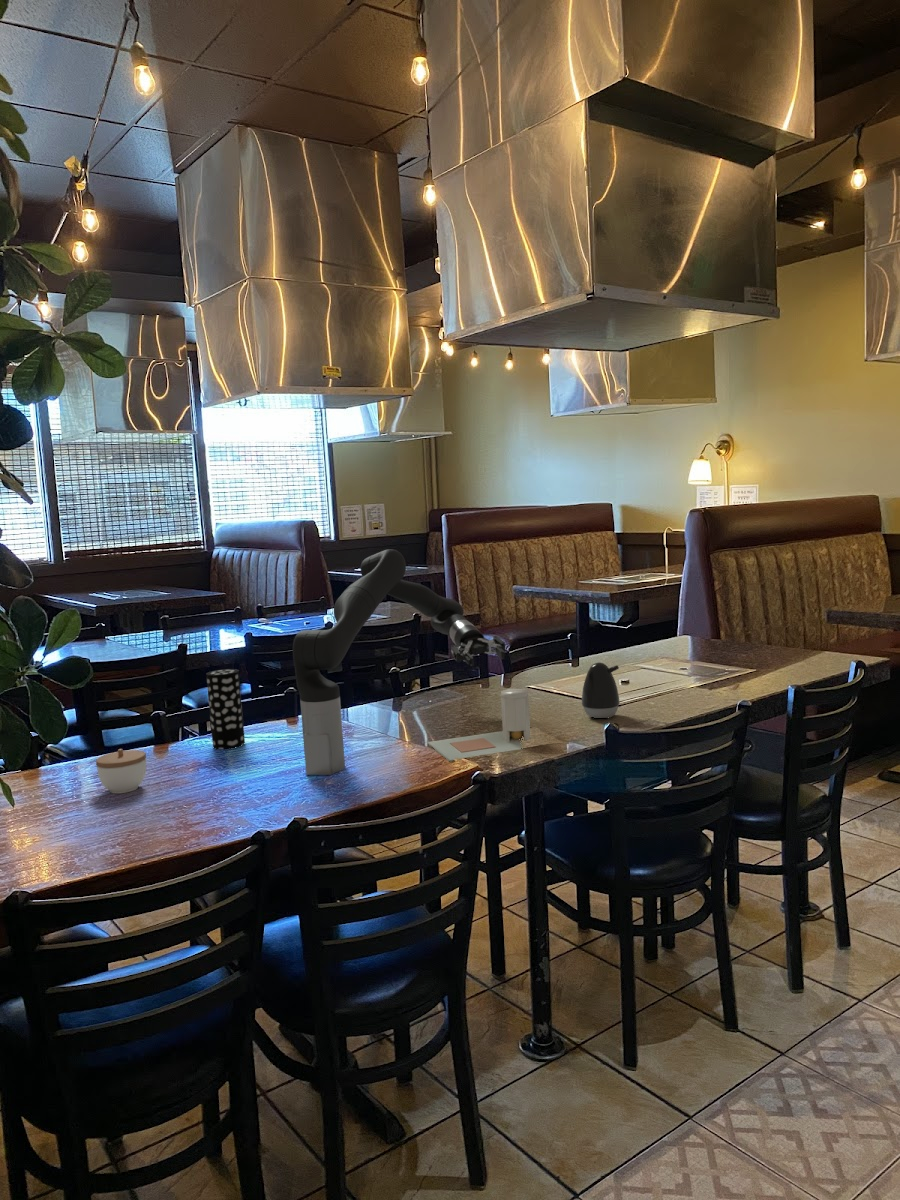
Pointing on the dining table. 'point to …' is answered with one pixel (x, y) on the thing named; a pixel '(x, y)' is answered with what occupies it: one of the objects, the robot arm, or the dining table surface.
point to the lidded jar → (122, 770)
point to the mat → (475, 745)
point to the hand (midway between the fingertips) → (487, 659)
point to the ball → (516, 734)
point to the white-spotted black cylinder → (225, 708)
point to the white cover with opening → (515, 713)
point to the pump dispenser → (600, 692)
